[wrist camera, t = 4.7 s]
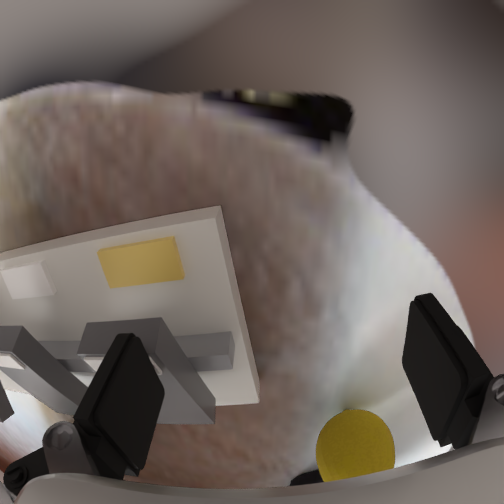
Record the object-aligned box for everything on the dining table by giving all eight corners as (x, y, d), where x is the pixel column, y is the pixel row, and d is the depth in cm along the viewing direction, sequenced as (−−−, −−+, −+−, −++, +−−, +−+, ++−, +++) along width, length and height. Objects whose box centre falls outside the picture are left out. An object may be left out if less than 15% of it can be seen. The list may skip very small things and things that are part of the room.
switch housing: (259, 380, 20) (258, 425, 17) (13, 375, 22) (-5, 401, 19) (220, 205, 15) (208, 232, 12) (-46, 265, 18) (-73, 286, 14)
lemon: (368, 427, 23) (387, 506, 15) (305, 431, 23) (313, 516, 15) (389, 385, 20) (420, 473, 13) (318, 389, 20) (333, 488, 13)
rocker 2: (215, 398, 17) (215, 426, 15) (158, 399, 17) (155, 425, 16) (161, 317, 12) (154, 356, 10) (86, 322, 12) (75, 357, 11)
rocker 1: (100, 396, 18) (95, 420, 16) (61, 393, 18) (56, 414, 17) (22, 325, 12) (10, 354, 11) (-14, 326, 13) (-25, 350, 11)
